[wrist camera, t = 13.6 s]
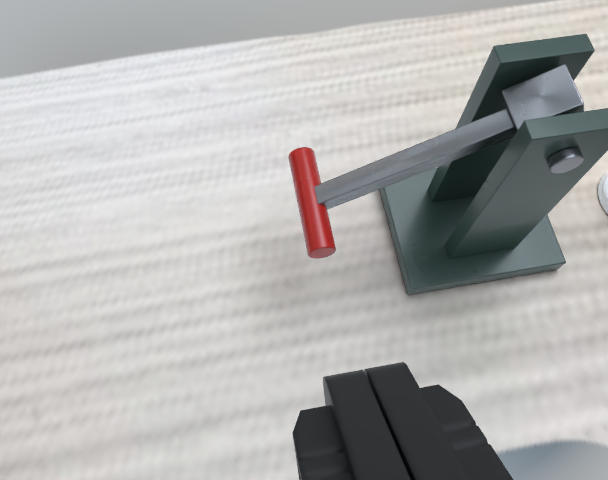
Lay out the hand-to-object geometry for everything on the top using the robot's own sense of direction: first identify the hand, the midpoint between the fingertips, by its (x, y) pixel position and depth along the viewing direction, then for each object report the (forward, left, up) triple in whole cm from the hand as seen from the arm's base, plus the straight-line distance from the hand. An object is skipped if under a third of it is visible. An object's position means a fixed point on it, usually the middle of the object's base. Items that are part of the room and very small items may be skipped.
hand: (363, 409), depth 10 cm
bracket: (+13, +12, -23) cm, 29 cm away
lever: (+8, +12, -14) cm, 20 cm away
